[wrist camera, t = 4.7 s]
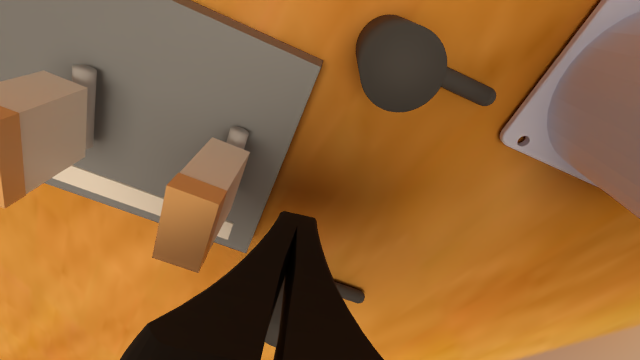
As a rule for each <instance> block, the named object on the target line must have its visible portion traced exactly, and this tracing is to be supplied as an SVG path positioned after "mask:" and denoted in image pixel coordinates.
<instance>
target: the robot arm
mask: <svg viewBox="0 0 640 360" xmlns="http://www.w3.org/2000/svg"><path fill="white" fill-rule="evenodd" d="M522 136H526V138H525V140H524V141H523V142H521V143H517V141H518V139H519V138H521V137H522ZM500 140H501V142H503V143H504V144H505V145H506V146H508V147H510V148H512V149H515V150H517V151H519V152H521V153H524V154H526V155H528V156H530V157H532V158H535V159H537V160H539V161H541V162H544V163H546V164H548V165H550V166H552V167H555V168H557V169H559V170H561V171H563V172H566V173H568V174H570V175H572V176H575V177H577V178H579V179H581V180H583V181H586V182H588V183H590V184H592V185H595V186H597V187H599V188H601V189H602V190H603V191H604V192H606V193H607V194H608V195H610V196H611V197H612V198H614V199H615V200H616V201H618V202H619V203H620V204H621V205H623V206H624V207H625V208H627V209H628V210H629V211H631V212H632V213H633V214H635V215H636V216H637V217H638V218H640V0H601V1H600V3H599V4H598V5H597V7H596V8H595V9H594V11H593V12H592V13H591V15H590V16H589V17H588V18H587V20H586V21H585V22H584V24H583V25H582V26H581V28H580V29H579V30H578V31H577V33H576V34H575V35H574V37H573V38H572V39H571V41H570V42H569V43H568V45H567V46H566V47H565V48H564V50H563V51H562V52H561V54H560V55H559V56H558V58H557V59H556V60H555V62H554V63H553V64H552V65H551V67H550V68H549V69H548V71H547V72H546V73H545V75H544V76H543V77H542V78H541V80H540V81H539V82H538V84H537V85H536V86H535V88H534V89H533V90H532V92H531V93H530V94H529V95H528V97H527V98H526V99H525V101H524V102H523V103H522V105H521V106H520V107H519V108H518V110H517V111H516V112H515V114H514V115H513V116H512V118H511V119H510V120H509V122H508V123H507V124H506V125H505V127H504V128H503V129H502V131H501V133H500ZM284 278H285V281H284ZM283 281H284V290H283V299H282V308H281V317H280V326H279V333H278V340H277V345H276V350H275V355H274V360H384V359H383V358H382V357H381V356H380V354H379V353H378V352H377V351H376V350H375V348H374V347H373V346H372V344H371V343H370V341H369V340H368V339H367V337H366V336H365V334H364V333H363V332H362V330H361V328H360V327H359V325H358V324H357V322H356V321H355V319H354V317H353V316H352V314H351V313H350V311H349V309H348V308H347V306H346V304H345V302H344V300H343V298H342V297H341V295H340V293H339V291H338V289H337V286H336V284H335V282H334V280H333V277H332V275H331V272H330V270H329V267H328V265H327V262H326V259H325V256H324V253H323V250H322V246H321V243H320V239H319V234H318V229H317V221H316V219H315V218H313V217H308V216H304V215H299V214H294V213H290V212H285V211H283V212H281V213H280V215H279V217H278V219H277V220H276V222H275V223H274V225H273V226H272V228H271V229H270V230H269V232H268V233H267V234H266V235H265V236H264V238H263V239H262V240H261V241H260V242H259V244H258V245H257V246H256V247H255V248H254V249H253V250H252V251H251V252H250V253H249V254H248V255H247V256H246V257H245V258H244V259H243V260H242V261H241V262H240V263H239V264H238V265H236V266H235V267H234V268H233V269H232V270H231V271H229V272H228V273H227V274H226V275H225V276H223V277H222V278H221V279H219V280H218V281H217V282H215V283H214V284H213V285H211V286H210V287H209V288H207V289H206V290H204V291H203V292H201V293H200V294H198V295H197V296H195V297H193V298H192V299H190V300H189V301H187V302H186V303H184V304H183V305H181V306H179V307H177V308H176V309H174V310H172V311H170V312H168V313H166V314H165V315H163V316H161V317H159V318H157V319H155V320H153V321H151V322H150V323H148V324H147V325H146V326H145V327H144V328H143V330H142V331H141V332H140V333H139V334H138V335H137V337H136V338H135V339H134V340H133V342H132V343H131V344H130V346H129V347H128V348H127V350H126V351H125V352H124V354H123V355H122V357H121V359H120V360H261V355H262V351H263V347H264V342H265V338H266V335H267V331H268V327H269V324H270V321H271V318H272V315H273V312H274V309H275V306H276V303H277V299H278V296H279V293H280V290H281V287H282V284H283Z"/></svg>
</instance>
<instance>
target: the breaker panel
mask: <svg viewBox="0 0 640 360" xmlns="http://www.w3.org/2000/svg"><path fill="white" fill-rule="evenodd" d="M322 63H323V60H321V59H319V58H317V57H314V56H312V55H310V54H308V53H306V52H303V51H301V50H299V49H297V48H295V47H292V46H290V45H288V44H286V43H283V42H281V41H279V40H277V39H275V38H272V37H270V36H268V35H266V34H264V33H261V32H259V31H257V30H255V29H253V28H250V27H248V26H246V25H244V24H241V23H239V22H237V21H235V20H233V19H230V18H228V17H226V16H224V15H222V14H219V13H217V12H215V11H213V10H211V9H208V8H206V7H204V6H202V5H199V4H197V3H195V2H193V1H191V0H0V82H1V81H5V80H9V79H13V78H17V77H21V76H25V75H29V74H32V73H36V72H40V71H46V72H49V73H51V74H54V75H56V76H59V77H61V78H64V79H66V80H69V81H72V66H73V65H75V64H82V65H87V66H90V67H93V68H95V69H96V70H97V77H96V98H95V119H94V139H93V147H91V148H89V149H86V150H85V157H84V158H83V159H81V160H79V161H78V162H76V163H75V164H73V165H71V166H70V167H68V168H67V169H65V170H64V171H62V172H60V173H59V174H57V175H56V176H54V177H52V178H51V179H49V180H48V181H46V182H44V183H46V184H49V185H52V186H55V187H57V188H60V189H63V190H66V191H69V192H72V193H75V194H78V195H80V196H83V197H86V198H89V199H92V200H95V201H98V202H101V203H103V204H106V205H109V206H112V207H115V208H118V209H121V210H123V211H126V212H129V213H132V214H135V215H138V216H141V217H144V218H146V219H149V220H152V221H155V222H158V223H159V221H160V216H161V211H162V206H163V200H164V195H165V190H166V185H167V184H168V183H169V182H170V181H171V180H172V179H173V178H174V177H175V176H176V175H177V173H180V171H181V170H182V169H183V168H184V167H185V166H186V165H187V164H188V163H189V162H190V161H191V160H192V158H193V157H194V156H195V155H196V154H197V153H198V152H199V151H200V150H201V149H202V148H203V147H204V146H205V144H206V143H207V142H208V141H209V140H210V139H211V138H212V137H213V138H216V139H218V140H221V141H223V142H227V138H228V135H229V131H230V128H231V127H233V126H237V127H241V128H244V129H245V130H247V131H248V133H249V135H248V138H247V141H246V144H245V148H244V150H246V151H249V152H250V154H249V157H248V160H247V163H246V166H245V169H244V172H243V175H242V178H241V181H240V184H239V187H238V190H237V193H236V196H235V199H234V202H233V205H232V208H231V210H230V212H229V214H228V216H227V218H226V220H225V222H224V224H223V225H222V227H221V229H220V231H219V233H218V235H217V237H216V239H215V241H214V242H215V243H218V244H221V245H224V246H227V247H230V248H232V249H235V250H238V251H241V252H244V253H246V252H247V249H248V247H249V245H250V242H251V240H252V237H253V235H254V232H255V230H256V227H257V225H258V222H259V220H260V217H261V215H262V212H263V210H264V207H265V205H266V202H267V200H268V197H269V195H270V192H271V190H272V187H273V185H274V183H275V180H276V178H277V175H278V173H279V170H280V168H281V165H282V163H283V160H284V158H285V155H286V153H287V150H288V148H289V145H290V143H291V140H292V138H293V135H294V133H295V130H296V128H297V125H298V123H299V121H300V118H301V116H302V113H303V111H304V108H305V106H306V103H307V101H308V98H309V96H310V93H311V91H312V88H313V86H314V83H315V81H316V78H317V76H318V73H319V71H320V68H321V66H322Z"/></svg>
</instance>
